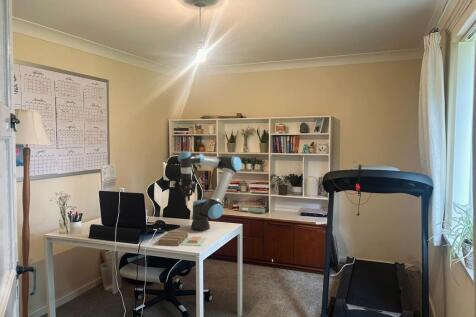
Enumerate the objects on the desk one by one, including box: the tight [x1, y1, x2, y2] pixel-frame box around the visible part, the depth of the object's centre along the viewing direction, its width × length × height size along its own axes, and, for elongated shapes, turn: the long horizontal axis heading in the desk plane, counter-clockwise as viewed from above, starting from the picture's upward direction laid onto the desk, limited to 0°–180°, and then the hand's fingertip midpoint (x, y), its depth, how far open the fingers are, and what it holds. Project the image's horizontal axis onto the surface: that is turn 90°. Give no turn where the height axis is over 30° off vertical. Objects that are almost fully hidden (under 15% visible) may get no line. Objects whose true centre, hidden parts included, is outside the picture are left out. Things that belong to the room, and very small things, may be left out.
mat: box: [180, 236, 208, 247], centre depth 244 cm, size 18×14×1 cm
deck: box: [158, 230, 189, 247], centre depth 246 cm, size 22×14×4 cm, turn 171°
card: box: [189, 235, 202, 243], centre depth 244 cm, size 9×6×2 cm, turn 171°
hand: (187, 205), depth 252 cm, fingers closed
